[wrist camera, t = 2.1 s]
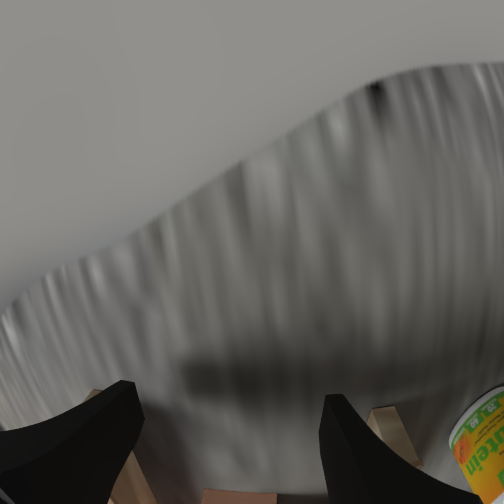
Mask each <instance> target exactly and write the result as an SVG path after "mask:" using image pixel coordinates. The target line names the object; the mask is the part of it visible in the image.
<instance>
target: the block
mask: <svg viewBox="0 0 504 504" xmlns="http://www.w3.org/2000/svg"><path fill="white" fill-rule="evenodd" d="M201 504H277V493H248V492H234V491H223V490H214V489H206V488H205V489H204V493H203V497H202V501H201Z"/></svg>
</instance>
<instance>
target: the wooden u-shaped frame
mask: <svg viewBox="0 0 504 504" xmlns="http://www.w3.org/2000/svg"><path fill="white" fill-rule="evenodd" d="M100 392H101V391H97V390H92V392H91V393H90V394H89V395H88V396H87V397H86V399H85V400H84V401H83V402H85V401H87V400H88V399H90V398H92V397H93V396H95V395H97V394H98V393H100ZM83 402H82V403H83ZM367 425H368V426H369V427H370V428H371V429H372V431H373V432H374V433H375V434H376V435H377V436H378V437H379V438H380V439H381V440H382V441H383V442H384V443H385V444H386V445H387V446H388V447H390V448H391V449H392V450H393V451H394V452H395V453H396V454H398V455H399V456H400V457H402V458H403V459H404V460H405V461H407V462H408V463H410V464H411V465H412V466H414V467H416V468H417V469H419V470H420V469H421V468H422V466H423V462H422V460H419V459H418V456H417V454H416V452H415V449H414V447H413V445H412V443H411V441H410V438H409V436H408V434H407V432H406V430H405V428H404V425H403V423H402V421H401V419H400V417H399V415H398V413H397V411H396V409H395V407H394V406H391V407H384V408H377V409H371V412H370V416H369V419H368V422H367ZM108 504H158V502H157V500H156V498H155V496H154V494H153V492H152V490H151V488H150V486H149V484H148V482H147V480H146V478H145V476H144V474H143V472H142V470H141V468H140V466H139V463H138V461H137V459H136V457H135V454H134V452H133V450H132V451H131V453H130V455H129V457H128V459H127V461H126V462H125V464H124V466H123V468H122V470H121V472H120V474H119V476H118V478H117V480H116V482H115V484H114V487H113V489H112V492H111V495H110V498H109V501H108Z"/></svg>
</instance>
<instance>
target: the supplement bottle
mask: <svg viewBox="0 0 504 504" xmlns="http://www.w3.org/2000/svg"><path fill="white" fill-rule="evenodd" d="M449 446H450V448H451V450H452V452H453V454H454V456H455V458H456V460H457V462H458V463H459V465H460V467H461V469H462V471H463V473H464V475H465V477H466V479H467V481H468V483H469V485H470V487H471V489H472V491H473V493H474V494H477V495H479V497H480V498H481V500H482V502H483V504H504V386H502V387H498V388H496V389H494V390H492V391H490V392H488V393H487V394H485V395H484V396H482V397H481V398H480V399H478V400H477V401H476V402H475V403H474V404H473V405H471V406H470V407H469V408H468V410H467V411H466V412H465V413H464V414H463V415H462V417H461V418H460V419H459V420H458V422H457V423H456V425H455V426H454V428H453V430H452V432H451V435H450V438H449Z"/></svg>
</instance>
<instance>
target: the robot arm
mask: <svg viewBox="0 0 504 504" xmlns="http://www.w3.org/2000/svg"><path fill="white" fill-rule="evenodd" d="M144 420H145V418H144V415H143V411H142V408H141V404H140V401H139V397H138V394H137V390H136V386H135V382H130V381H125V380H120V381H118V382H116V383H115V384H113V385H111V386H110V387H108V388H106V389H105V390H103V391H102V392H100V393H98V394H97V395H95V396H93V397H92V398H90V399H88V400H87V401H85V402H83V403H81V404H80V405H78V406H76V407H74V408H72V409H70V410H68V411H66V412H64V413H62V414H60V415H58V416H56V417H53V418H51V419H48V420H46V421H43V422H40V423H37V424H34V425H30V426H27V427H23V428H19V429H14V430H8V431H1V432H0V504H108V501H109V498H110V495H111V492H112V489H113V487H114V484H115V482H116V480H117V478H118V476H119V474H120V472H121V470H122V468H123V466H124V464H125V462H126V461H127V459H128V457H129V455H130V453H131V451H132V449H133V447H134V445H135V444H136V442H137V440H138V437H139V434H140V432H141V429H142V426H143V423H144ZM319 443H320V455H321V460H322V465H323V470H324V475H325V480H326V485H327V490H328V495H329V500H330V504H483V502H482V500H481V498H480V497H479V495H477V494H474V493H470V492H467V491H464V490H461V489H458V488H455V487H452V486H450V485H448V484H445V483H443V482H441V481H439V480H437V479H435V478H433V477H431V476H429V475H427V474H426V473H424V472H422V471H421V470H419V469H417V468H416V467H414V466H412V465H411V464H410V463H408V462H407V461H405V460H404V459H403V458H402V457H400V456H399V455H398V454H396V453H395V452H394V451H393V450H392V449H391V448H390V447H388V446H387V445H386V444H385V443H384V442H383V441H382V440H381V439H380V438H379V437H378V436H377V435H376V434H375V433H374V432H373V431H372V429H371V428H370V427H369V426H368V425H367V424H366V423H365V422H364V421H363V419H362V418H361V417H360V416H359V415H358V413H357V412H356V411H355V410H354V408H353V407H352V406H351V404H350V403H349V402H348V400H347V399H346V398H345V396H344V395H343V394H331V395H325V401H324V407H323V412H322V418H321V423H320V428H319Z"/></svg>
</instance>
